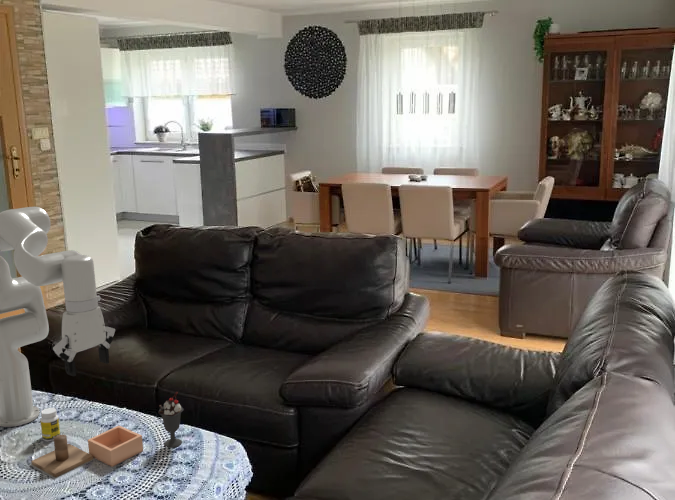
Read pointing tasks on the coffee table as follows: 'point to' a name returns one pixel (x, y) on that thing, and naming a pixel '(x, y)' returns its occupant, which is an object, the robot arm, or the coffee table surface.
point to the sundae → (171, 420)
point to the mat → (62, 474)
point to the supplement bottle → (49, 424)
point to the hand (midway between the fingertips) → (88, 368)
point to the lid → (62, 458)
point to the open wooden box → (115, 445)
